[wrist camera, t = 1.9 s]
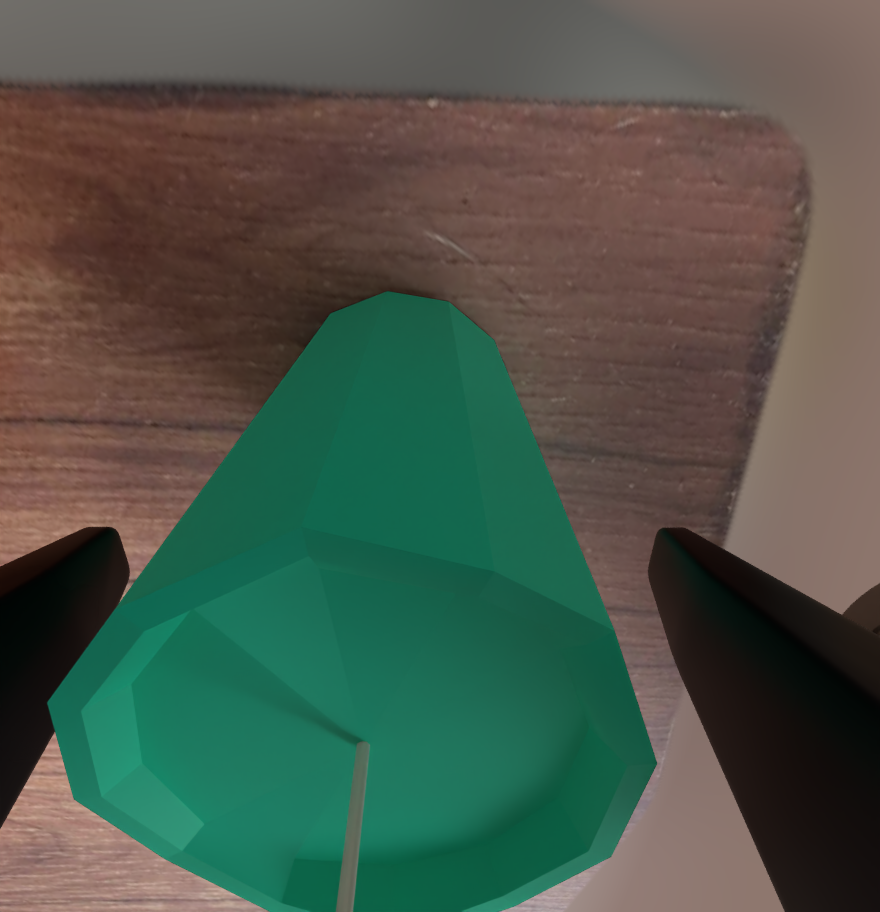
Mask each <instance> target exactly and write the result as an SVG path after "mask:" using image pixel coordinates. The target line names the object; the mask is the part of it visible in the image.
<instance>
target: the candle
mask: <svg viewBox="0 0 880 912" xmlns="http://www.w3.org/2000/svg"><path fill="white" fill-rule="evenodd" d="M47 704H48V708H49V711H50V715H51V719H52V722H53V726H54V729H55V733H56V737H57V740H58V744H59V747H60V751H61V755H62V758H63V762H64V765H65V769H66V773H67V776H68V780H69V783H70V787H71V791H72V794H73V798H74V800H76V801H77V802H79V803H80V804H82V805H83V806H85V807H87V808H88V809H90V810H91V811H93V812H94V813H96V814H97V815H99V816H100V817H102V818H103V819H105V820H106V821H108V822H109V823H111V824H112V825H114V826H115V827H117V828H118V829H120V830H121V831H123V832H125V833H126V834H128V835H129V836H131V837H132V838H134V839H135V840H137V841H138V842H140V843H141V844H143V845H144V846H146V847H147V848H149V849H150V850H152V851H153V852H155V853H156V854H158V855H159V856H161V857H163V858H164V859H166V860H168V861H170V862H172V863H174V864H176V865H178V866H180V867H182V868H184V869H186V870H188V871H190V872H192V873H194V874H196V875H198V876H200V877H202V878H204V879H206V880H208V881H210V882H212V883H214V884H216V885H218V886H220V887H222V888H224V889H226V890H228V891H230V892H232V893H234V894H236V895H238V896H240V897H242V898H244V899H246V900H248V901H250V902H252V903H254V904H256V905H258V906H260V907H262V908H264V909H266V910H268V911H270V912H499V911H502V910H505V909H508V908H511V907H514V906H516V905H518V904H520V903H522V902H524V901H526V900H528V899H530V898H532V897H534V896H536V895H538V894H540V893H542V892H543V891H545V890H547V889H549V888H551V887H553V886H555V885H557V884H559V883H561V882H563V881H565V880H567V879H569V878H571V877H573V876H575V875H577V874H579V873H581V872H582V871H584V870H586V869H588V868H590V867H592V866H594V865H596V864H598V863H600V862H602V861H604V860H606V859H608V858H610V857H611V856H612V854H613V852H614V850H615V848H616V846H617V844H618V842H619V840H620V838H621V836H622V834H623V832H624V830H625V828H626V826H627V824H628V822H629V820H630V818H631V815H632V813H633V811H634V809H635V807H636V805H637V803H638V801H639V799H640V797H641V795H642V793H643V791H644V789H645V787H646V785H647V783H648V781H649V779H650V777H651V775H652V773H653V771H654V769H655V767H656V765H657V761H656V758H655V755H654V752H653V749H652V746H651V743H650V740H649V737H648V733H647V730H646V727H645V724H644V721H643V718H642V715H641V712H640V708H639V705H638V702H637V699H636V696H635V693H634V690H633V687H632V684H631V680H630V677H629V674H628V671H627V668H626V665H625V662H624V659H623V655H622V652H621V649H620V646H619V643H618V640H617V637H616V634H615V631H614V628H613V626H612V623H611V621H610V619H609V616H608V614H607V611H606V609H605V606H604V604H603V602H602V599H601V597H600V594H599V592H598V590H597V587H596V585H595V582H594V580H593V577H592V575H591V573H590V570H589V568H588V565H587V563H586V561H585V558H584V556H583V553H582V551H581V549H580V546H579V544H578V541H577V539H576V536H575V534H574V532H573V529H572V527H571V524H570V522H569V520H568V517H567V515H566V512H565V510H564V507H563V505H562V503H561V500H560V498H559V495H558V493H557V491H556V488H555V486H554V483H553V481H552V478H551V476H550V474H549V471H548V469H547V466H546V464H545V462H544V459H543V457H542V454H541V452H540V450H539V447H538V445H537V442H536V440H535V437H534V435H533V433H532V430H531V428H530V425H529V423H528V421H527V418H526V416H525V413H524V411H523V408H522V406H521V404H520V401H519V399H518V396H517V394H516V392H515V389H514V387H513V384H512V382H511V380H510V377H509V375H508V372H507V370H506V367H505V365H504V363H503V360H502V358H501V355H500V353H499V351H498V348H497V346H496V343H495V341H494V340H493V339H492V338H491V337H490V336H489V335H488V334H486V333H485V332H484V331H483V330H482V329H480V328H479V327H478V326H477V325H476V324H475V323H473V322H472V321H471V320H470V319H469V318H467V317H466V316H465V315H464V314H463V313H462V312H460V311H459V310H458V309H457V308H456V307H454V306H453V305H452V304H451V303H450V302H448V301H442V300H437V299H431V298H425V297H419V296H413V295H407V294H401V293H395V292H389V291H386V292H384V293H381V294H379V295H376V296H374V297H371V298H368V299H366V300H363V301H361V302H358V303H356V304H353V305H351V306H348V307H345V308H343V309H340V310H338V311H335V312H333V313H330V315H329V316H328V318H327V319H326V320H325V322H324V323H323V324H322V326H321V327H320V329H319V330H318V331H317V333H316V334H315V335H314V337H313V338H312V340H311V341H310V342H309V344H308V345H307V346H306V348H305V349H304V351H303V352H302V353H301V355H300V356H299V357H298V359H297V360H296V361H295V363H294V364H293V366H292V367H291V368H290V370H289V371H288V372H287V374H286V375H285V377H284V378H283V379H282V381H281V382H280V383H279V385H278V386H277V388H276V389H275V390H274V392H273V393H272V394H271V396H270V397H269V399H268V400H267V401H266V403H265V404H264V405H263V407H262V408H261V409H260V411H259V412H258V414H257V415H256V416H255V418H254V419H253V420H252V422H251V423H250V425H249V426H248V427H247V429H246V430H245V431H244V433H243V434H242V436H241V437H240V438H239V440H238V441H237V442H236V444H235V445H234V447H233V448H232V449H231V451H230V452H229V453H228V455H227V456H226V458H225V459H224V460H223V462H222V463H221V464H220V466H219V467H218V468H217V470H216V471H215V473H214V474H213V475H212V477H211V478H210V479H209V481H208V482H207V484H206V485H205V486H204V488H203V489H202V490H201V492H200V493H199V495H198V496H197V497H196V499H195V500H194V501H193V503H192V504H191V506H190V507H189V508H188V510H187V511H186V512H185V514H184V515H183V516H182V518H181V519H180V521H179V522H178V523H177V525H176V526H175V527H174V529H173V530H172V532H171V533H170V534H169V536H168V537H167V538H166V540H165V541H164V543H163V544H162V545H161V547H160V548H159V549H158V551H157V552H156V554H155V555H154V556H153V558H152V559H151V560H150V562H149V563H148V564H147V566H146V567H145V569H144V570H143V571H142V573H141V574H140V575H139V577H138V578H137V580H136V581H135V582H134V584H133V585H132V586H131V588H130V589H129V591H128V592H127V593H126V595H125V596H124V597H123V599H122V600H121V602H120V603H119V604H118V606H117V607H116V608H115V610H114V611H113V612H112V614H111V615H110V617H109V618H108V619H107V621H106V622H105V624H104V625H103V626H102V628H101V629H100V630H99V632H98V633H97V635H96V636H95V637H94V639H93V640H92V641H91V643H90V644H89V646H88V647H87V648H86V650H85V651H84V652H83V654H82V655H81V657H80V658H79V659H78V661H77V662H76V663H75V665H74V666H73V668H72V669H71V670H70V672H69V673H68V675H67V676H66V677H65V679H64V680H63V681H62V683H61V684H60V686H59V687H58V688H57V690H56V691H55V692H54V694H53V695H52V697H51V698H50V699H49V701H48V702H47Z"/></svg>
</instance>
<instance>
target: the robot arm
mask: <svg viewBox="0 0 880 912" xmlns="http://www.w3.org/2000/svg"><path fill="white" fill-rule="evenodd" d="M129 575H130V569H129V564H128V561H127V558H126V554H125V551H124V548H123V545H122V542H121V539H120V536H119V533H118V532H117V531H116V529H114V528H112V527H87V528H84V529H81V530H79V531H77V532H75V533H73V534H70V535H68V536H66V537H64V538H62V539H59V540H57V541H55V542H53V543H51V544H49V545H46V546H44V547H42V548H40V549H38V550H35V551H33V552H31V553H29V554H27V555H25V556H22V557H20V558H18V559H16V560H14V561H11V562H9V563H7V564H5V565H3V566H0V828H1V827H2V825H3V823H4V821H5V820H6V818H7V816H8V814H9V812H10V811H11V809H12V807H13V805H14V803H15V802H16V800H17V798H18V796H19V795H20V793H21V791H22V789H23V787H24V786H25V784H26V782H27V780H28V778H29V777H30V775H31V773H32V771H33V770H34V768H35V766H36V764H37V762H38V761H39V759H40V757H41V755H42V754H43V752H44V750H45V748H46V746H47V745H48V743H49V741H50V739H51V737H52V736H53V734H54V732H55V729H54V726H53V722H52V719H51V715H50V711H49V708H48V704H47V702H48V701H49V699H50V698H51V697H52V695H53V694H54V692H55V691H56V690H57V688H58V687H59V686H60V684H61V683H62V681H63V680H64V679H65V677H66V676H67V675H68V673H69V672H70V670H71V669H72V668H73V666H74V665H75V663H76V662H77V661H78V659H79V658H80V657H81V655H82V654H83V652H84V651H85V650H86V648H87V647H88V646H89V644H90V643H91V641H92V640H93V639H94V637H95V636H96V635H97V633H98V632H99V630H100V629H101V628H102V626H103V625H104V624H105V622H106V621H107V619H108V618H109V617H110V615H111V614H112V612H113V611H114V610H115V608H116V607H117V606H118V604H119V602H120V599H121V597H122V595H123V592H124V590H125V588H126V585H127V583H128V580H129ZM648 577H649V582H650V585H651V588H652V591H653V594H654V598H655V601H656V604H657V607H658V610H659V614H660V617H661V620H662V623H663V626H664V630H665V633H666V636H667V639H668V642H669V646H670V649H671V652H672V655H673V657H674V660H675V663H676V665H677V668H678V670H679V673H680V675H681V677H682V680H683V682H684V684H685V686H686V689H687V691H688V693H689V695H690V697H691V700H692V702H693V704H694V707H695V709H696V711H697V714H698V716H699V718H700V720H701V723H702V725H703V727H704V730H705V732H706V734H707V736H708V739H709V741H710V743H711V745H712V747H713V750H714V752H715V754H716V757H717V759H718V761H719V763H720V765H721V768H722V770H723V773H724V775H725V777H726V779H727V781H728V784H729V786H730V788H731V791H732V793H733V795H734V798H735V800H736V802H737V804H738V807H739V809H740V811H741V813H742V816H743V818H744V820H745V823H746V825H747V827H748V829H749V832H750V834H751V836H752V838H753V841H754V843H755V845H756V847H757V850H758V852H759V854H760V857H761V859H762V861H763V863H764V866H765V868H766V870H767V872H768V875H769V877H770V879H771V882H772V884H773V886H774V888H775V891H776V893H777V895H778V897H779V900H780V902H781V904H782V906H783V909H784V911H785V912H880V636H879V635H877V634H875V633H873V632H871V631H870V630H868V629H866V628H864V627H862V626H861V625H859V624H857V623H855V622H853V621H852V620H850V619H848V618H846V617H844V616H843V615H841V614H839V613H837V612H835V611H834V610H831V609H830V608H828V607H827V606H825V605H823V604H821V603H819V602H818V601H816V600H814V599H812V598H810V597H809V596H806V595H805V594H803V593H801V592H800V591H798V590H796V589H794V588H792V587H791V586H789V585H787V584H785V583H783V582H782V581H780V580H778V579H776V578H774V577H773V576H771V575H769V574H767V573H765V572H763V571H762V570H760V569H758V568H756V567H754V566H753V565H751V564H749V563H748V562H746V561H744V560H742V559H740V558H739V557H737V556H735V555H733V554H731V553H729V552H728V551H726V550H724V549H722V548H721V547H719V546H717V545H715V544H713V543H712V542H710V541H708V540H706V539H704V538H703V537H701V536H699V535H697V534H695V533H694V532H692V531H690V530H688V529H686V528H661V529H660V530H659V531H658V532H657V534H656V537H655V542H654V546H653V550H652V554H651V558H650V562H649V567H648Z"/></svg>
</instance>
